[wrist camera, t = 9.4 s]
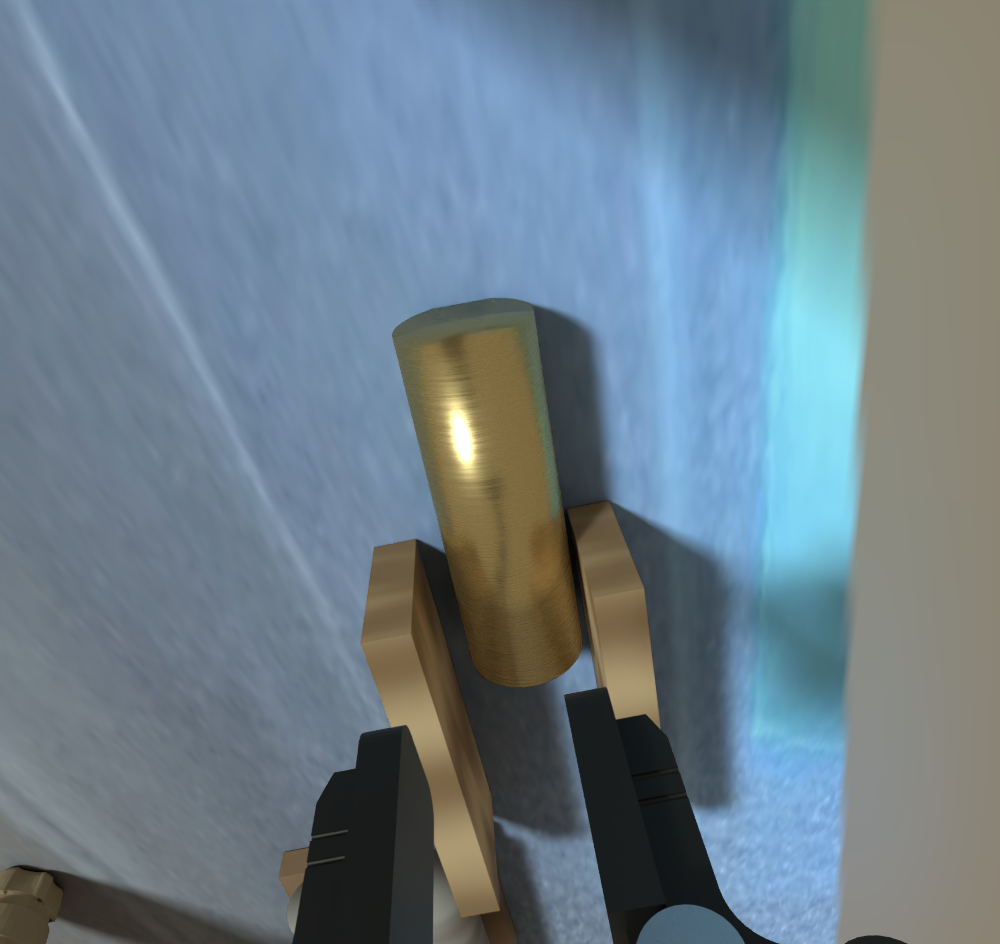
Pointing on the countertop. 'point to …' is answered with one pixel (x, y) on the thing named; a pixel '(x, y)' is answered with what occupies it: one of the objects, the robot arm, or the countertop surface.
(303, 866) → the roller stand
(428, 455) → the axle
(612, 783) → the robot arm
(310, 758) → the countertop surface
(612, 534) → the tan piece
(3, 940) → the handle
